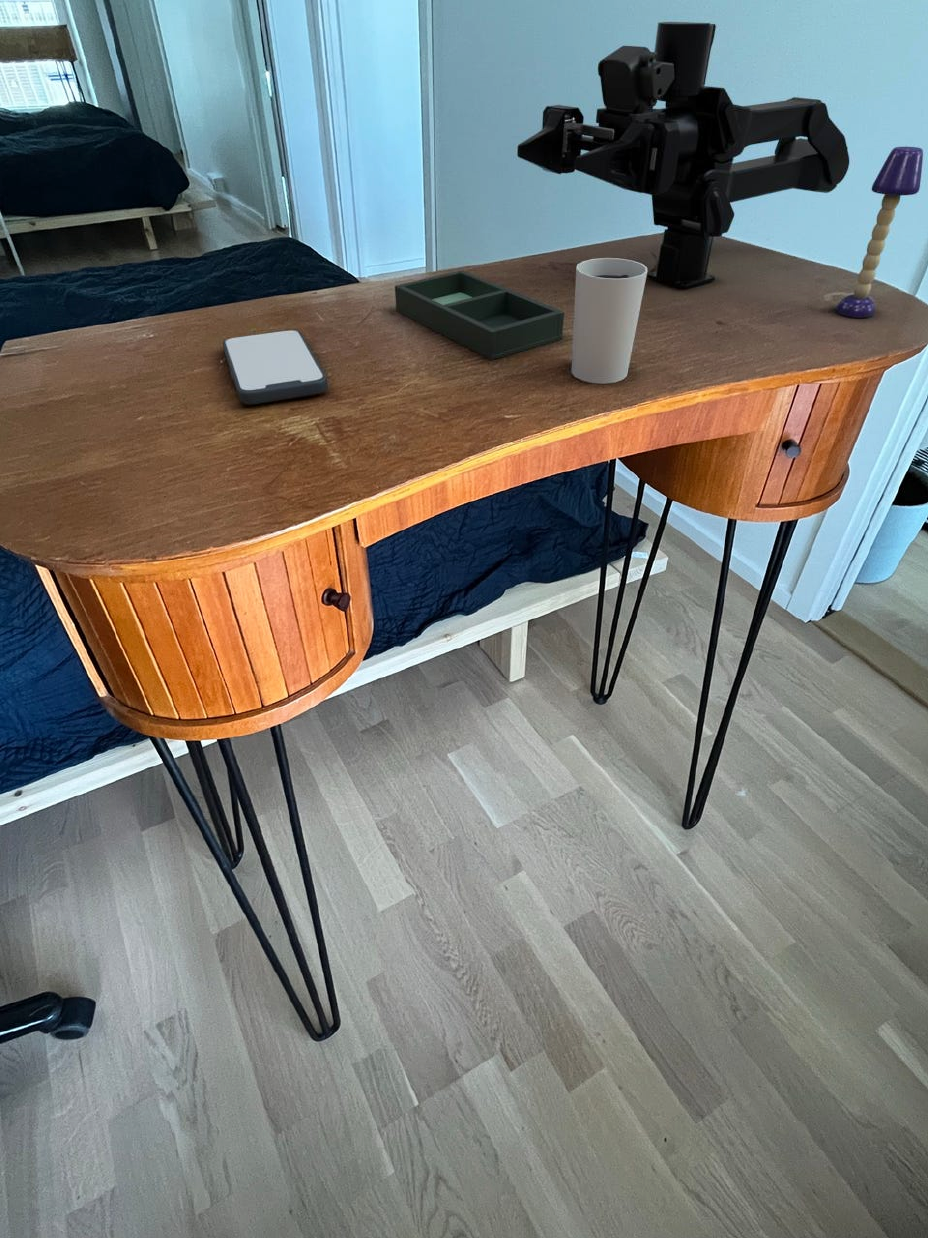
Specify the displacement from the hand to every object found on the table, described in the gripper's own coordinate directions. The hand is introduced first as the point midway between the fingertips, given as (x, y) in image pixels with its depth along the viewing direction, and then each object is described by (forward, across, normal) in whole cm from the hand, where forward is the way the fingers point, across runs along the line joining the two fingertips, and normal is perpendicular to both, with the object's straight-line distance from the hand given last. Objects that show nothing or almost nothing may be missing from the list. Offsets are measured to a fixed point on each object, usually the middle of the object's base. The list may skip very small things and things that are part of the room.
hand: (546, 156), depth 74 cm
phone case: (+32, -5, +17) cm, 36 cm away
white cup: (+5, +15, +17) cm, 23 cm away
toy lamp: (-32, +21, +17) cm, 42 cm away
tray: (+7, -3, +16) cm, 18 cm away
